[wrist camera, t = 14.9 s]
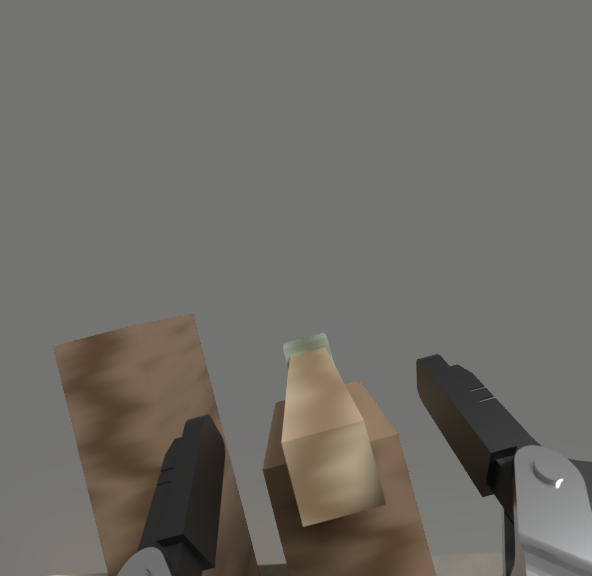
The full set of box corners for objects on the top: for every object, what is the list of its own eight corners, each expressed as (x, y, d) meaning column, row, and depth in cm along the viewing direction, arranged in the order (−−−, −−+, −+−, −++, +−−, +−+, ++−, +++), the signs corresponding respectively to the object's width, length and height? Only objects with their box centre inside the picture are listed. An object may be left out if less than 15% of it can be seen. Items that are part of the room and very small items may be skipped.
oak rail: (292, 529, 12) (264, 424, 12) (294, 383, 31) (284, 343, 31) (397, 501, 12) (368, 396, 12) (334, 372, 31) (323, 332, 31)
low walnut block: (362, 858, 16) (262, 469, 16) (337, 639, 26) (275, 402, 26) (502, 821, 16) (398, 433, 16) (422, 616, 26) (359, 380, 26)
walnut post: (164, 806, 19) (52, 346, 20) (212, 619, 30) (139, 327, 31) (250, 783, 19) (135, 324, 20) (267, 605, 30) (193, 313, 31)
